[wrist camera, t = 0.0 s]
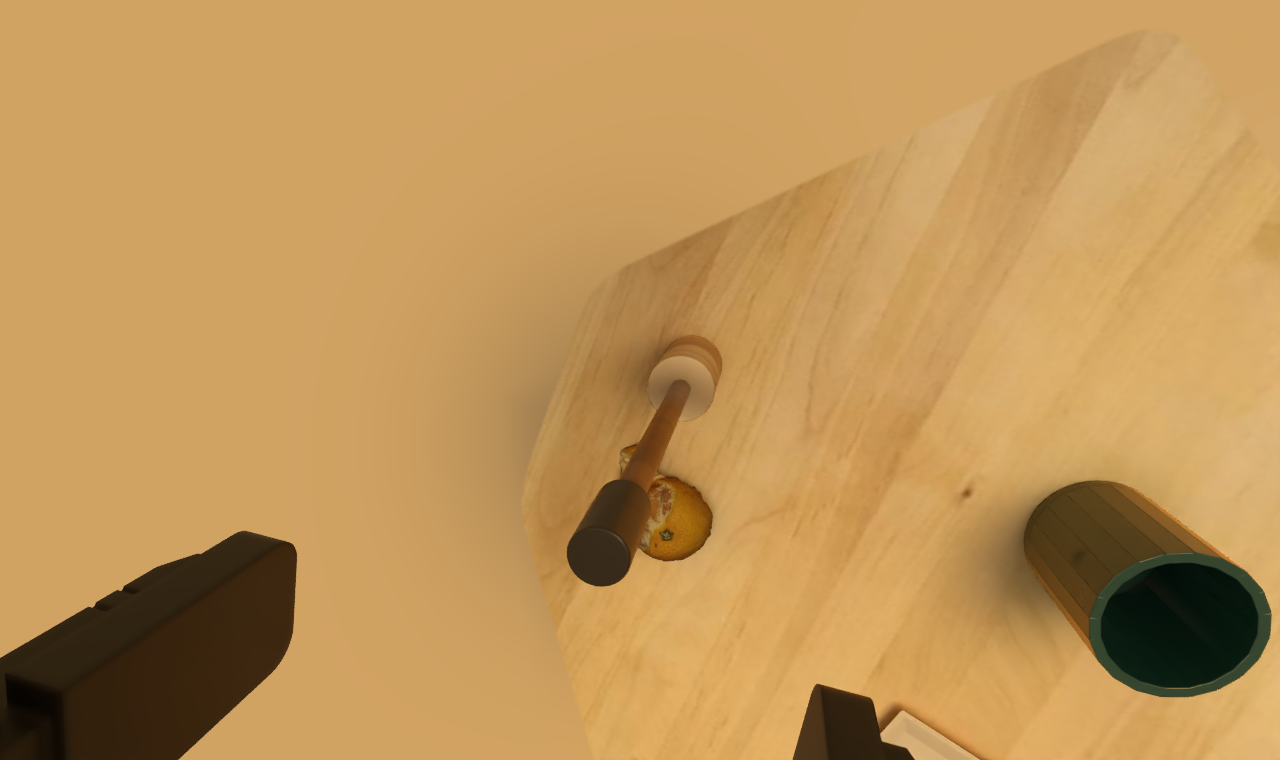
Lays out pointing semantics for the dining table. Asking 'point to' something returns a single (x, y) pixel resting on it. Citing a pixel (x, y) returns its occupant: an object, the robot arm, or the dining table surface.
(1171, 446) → the dining table surface
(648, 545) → the fruit
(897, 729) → the dessert
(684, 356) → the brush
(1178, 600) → the cup
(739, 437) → the dining table surface
